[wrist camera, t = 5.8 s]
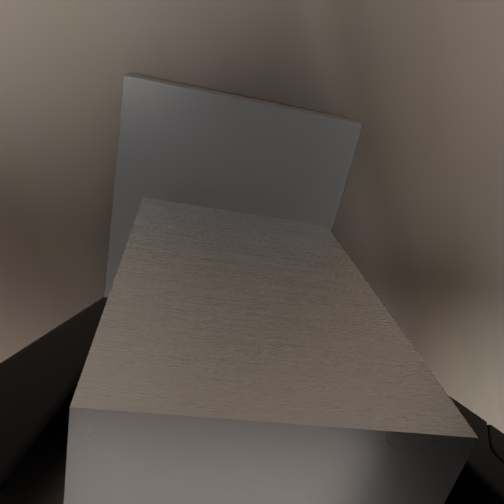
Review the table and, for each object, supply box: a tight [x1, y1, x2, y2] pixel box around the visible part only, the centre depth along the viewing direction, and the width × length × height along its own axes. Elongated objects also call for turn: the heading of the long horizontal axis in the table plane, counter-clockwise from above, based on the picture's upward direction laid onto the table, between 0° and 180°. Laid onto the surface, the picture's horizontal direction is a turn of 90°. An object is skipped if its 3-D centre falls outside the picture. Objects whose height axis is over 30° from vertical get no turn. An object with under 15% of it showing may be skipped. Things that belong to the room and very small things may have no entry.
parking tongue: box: [104, 73, 363, 297], centre depth 13 cm, size 6×8×1 cm
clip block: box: [64, 197, 478, 504], centre depth 8 cm, size 4×4×6 cm
